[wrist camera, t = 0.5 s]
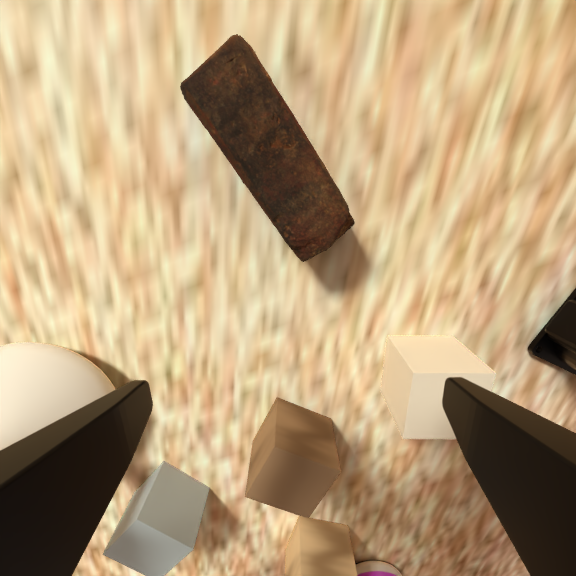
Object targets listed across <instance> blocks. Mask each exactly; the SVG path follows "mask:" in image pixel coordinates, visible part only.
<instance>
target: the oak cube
mask: <svg viewBox="0 0 576 576" xmlns="http://www.w3.org/2000/svg"><path fill="white" fill-rule="evenodd" d="M285 576H357V571H356V566H355V560H354V555H353V549H352V544H351V538H350V533H349V527H348V525H343V524H338V523H333V522H328V521H323V520H318V519H313V518H305V517H302V516H299V517H298V519H297V522H296V524H295V527H294V529H293V532H292V534H291V537H290V539H289V542H288V544H287V547H286V549H285Z"/></svg>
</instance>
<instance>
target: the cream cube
mask: <svg viewBox="0 0 576 576" xmlns="http://www.w3.org/2000/svg"><path fill="white" fill-rule="evenodd" d="M448 377H462V378H465V379H467V380H469V381H471V382H473V383H475V384H477V385H479V386H481V387H483V388H485V389H487V390H489V391H491V392H492V389H493V385H494V381H495V377H496V373H495V372H494V371H493V370H492V369H491V368H490V367H488V366H487V365H486V364H485V363H484V362H483V361H481V360H480V359H479V358H478V357H477V356H476V355H475V354H473V353H472V352H471V351H470V350H469V349H468V348H466V347H465V346H464V345H463V344H462V343H461V342H460V341H458V340H457V339H456V338H455V337H454V336H445V335H387V339H386V347H385V355H384V363H383V371H382V379H381V387H380V391H381V394H382V396H383V398H384V400H385V402H386V404H387V406H388V409H389V411H390V413H391V415H392V417H393V419H394V421H395V424H396V426H397V428H398V430H399V432H400V434H401V436H402V439H456V437H455V434H454V432H453V430H452V428H451V425H450V423H449V421H448V418H447V416H446V414H445V411H444V409H443V406H442V397H443V391H444V385H445V380H446V379H447V378H448Z"/></svg>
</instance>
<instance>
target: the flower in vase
mask: <svg viewBox="0 0 576 576" xmlns="http://www.w3.org/2000/svg"><path fill="white" fill-rule="evenodd" d="M114 390H116V389H115V387H114V386H113V384H112V382H111V381H110V380H109V378H108V377H107V376H106V375H105V374H104V372H103V371H102V370H101V369H100V368H98V367H97V366H96V365H95V364H94V363H92V362H91V361H89V360H88V359H87V358H85V357H83V356H82V355H80V354H78V353H76V352H74V351H71V350H69V349H67V348H64V347H60V346H57V345H52V344H47V343H36V342H17V343H10V344H6V345H2V346H0V450H2V449H4V448H6V447H8V446H10V445H12V444H14V443H15V442H17V441H19V440H21V439H23V438H25V437H27V436H29V435H31V434H32V433H34V432H36V431H38V430H40V429H42V428H44V427H46V426H48V425H50V424H51V423H53V422H55V421H57V420H59V419H61V418H63V417H65V416H67V415H68V414H70V413H72V412H74V411H76V410H78V409H80V408H82V407H84V406H86V405H87V404H89V403H91V402H93V401H95V400H97V399H99V398H101V397H103V396H104V395H106V394H108V393H110V392H112V391H114Z"/></svg>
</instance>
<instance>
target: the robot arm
mask: <svg viewBox="0 0 576 576" xmlns="http://www.w3.org/2000/svg"><path fill="white" fill-rule="evenodd" d="M536 348H537V349H536ZM528 350H529V351H530V352H531V353H532V354H534V355H536V356H538V357H540V358H542V359H544V360H546V361H548V362H550V363H552V364H554V365H557V366H559V367H561V368H563V369H565V370H567V371H569V372H571V373H573V374H575V375H576V289H575V290H574V291H573V292H572V293H571V295H570V296H569V297H568V298H567V300H566V301H565V302H564V303H563V304H562V306H561V307H560V308H559V309H558V311H557V312H556V313H555V314H554V315H553V317H552V318H551V319H550V320H549V322H548V323H547V324H546V325H545V326H544V328H543V329H542V330H541V331H540V333H539V334H538V335H537V336H536V337H535V339H534V340H533V341H532V342H531V344H530V345H529V347H528ZM442 406H443V409H444V411H445V414H446V416H447V418H448V421H449V423H450V425H451V428H452V430H453V432H454V434H455V437H456V439H457V441H458V444H459V446H460V448H461V450H462V453H463V455H464V457H465V459H466V461H467V463H468V465H469V466H470V468H471V470H472V472H473V474H474V475H475V477H476V479H477V481H478V483H479V484H480V486H481V488H482V490H483V492H484V493H485V495H486V497H487V499H488V500H489V502H490V504H491V506H492V508H493V509H494V511H495V513H496V515H497V517H498V518H499V520H500V522H501V524H502V526H503V527H504V529H505V531H506V533H507V534H508V536H509V538H510V540H511V542H512V543H513V545H514V547H515V549H516V551H517V552H518V554H519V556H520V558H521V560H522V561H523V563H524V565H525V567H526V568H527V570H528V572H529V574H530V576H576V433H574V432H572V431H570V430H568V429H566V428H564V427H562V426H560V425H558V424H556V423H554V422H552V421H550V420H548V419H546V418H543V417H541V416H539V415H537V414H535V413H533V412H531V411H529V410H527V409H525V408H523V407H521V406H519V405H517V404H515V403H513V402H511V401H509V400H507V399H505V398H503V397H501V396H499V395H497V394H495V393H493V392H491V391H489V390H487V389H485V388H483V387H481V386H479V385H477V384H475V383H473V382H471V381H469V380H467V379H465V378H462V377H448V378H447V379H446V380H445V385H444V391H443V397H442ZM152 407H153V402H152V397H151V392H150V387H149V383H148V382H147V381H146V380H134V381H131V382H129V383H127V384H125V385H123V386H122V387H120V388H118V389H116V390H114V391H112V392H110V393H108V394H106V395H104V396H103V397H101V398H99V399H97V400H95V401H93V402H91V403H89V404H87V405H86V406H84V407H82V408H80V409H78V410H76V411H74V412H72V413H70V414H68V415H67V416H65V417H63V418H61V419H59V420H57V421H55V422H53V423H51V424H50V425H48V426H46V427H44V428H42V429H40V430H38V431H36V432H34V433H32V434H31V435H29V436H27V437H25V438H23V439H21V440H19V441H17V442H15V443H14V444H12V445H10V446H8V447H6V448H4V449H2V450H0V576H72V574H73V572H74V570H75V568H76V567H77V565H78V563H79V561H80V559H81V557H82V555H83V553H84V551H85V549H86V547H87V545H88V543H89V542H90V540H91V538H92V536H93V534H94V532H95V530H96V528H97V526H98V524H99V522H100V520H101V518H102V516H103V515H104V513H105V511H106V509H107V507H108V505H109V503H110V501H111V499H112V497H113V495H114V493H115V491H116V490H117V488H118V486H119V484H120V482H121V480H122V478H123V476H124V474H125V472H126V470H127V468H128V466H129V464H130V462H131V460H132V458H133V456H134V453H135V451H136V449H137V446H138V444H139V441H140V439H141V436H142V434H143V431H144V429H145V426H146V424H147V421H148V419H149V416H150V414H151V411H152Z"/></svg>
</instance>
